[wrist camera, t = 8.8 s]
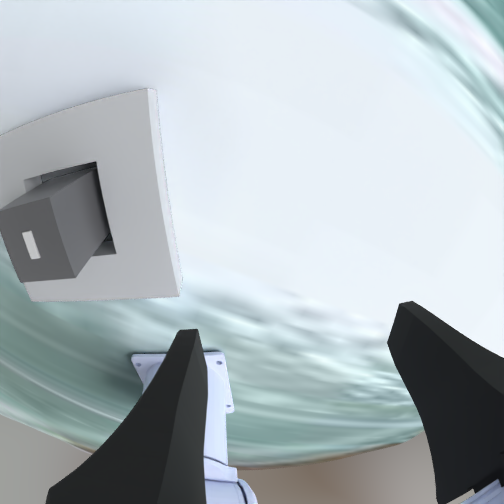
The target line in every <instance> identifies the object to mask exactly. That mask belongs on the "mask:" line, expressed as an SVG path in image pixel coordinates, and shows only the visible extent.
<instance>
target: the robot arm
mask: <svg viewBox="0 0 504 504" xmlns="http://www.w3.org/2000/svg"><path fill="white" fill-rule="evenodd" d="M387 344H388V347H389V350H390V353H391V355H392V358H393V361H394V363H395V366H396V368H397V370H398V372H399V374H400V376H401V378H402V380H403V382H404V384H405V386H406V388H407V390H408V391H409V393H410V395H411V397H412V399H413V401H414V404H415V406H416V408H417V410H418V412H419V415H420V417H421V420H422V423H423V426H424V429H425V432H426V435H427V439H428V443H429V447H430V451H431V456H432V461H433V467H434V473H435V483H436V499H437V502H438V504H447V503H448V502H450V501H452V500H454V499H456V498H458V497H459V496H461V495H463V494H465V493H466V492H468V491H470V490H471V489H474V492H475V494H474V495H473V496H471V497H469V498H468V499H466V500H465V501H463V502H461V503H460V504H504V358H503V357H500V356H499V355H497V354H495V353H493V352H491V351H489V350H487V349H485V348H484V347H482V346H480V345H479V344H477V343H475V342H474V341H472V340H471V339H469V338H467V337H466V336H464V335H463V334H461V333H460V332H458V331H457V330H455V329H454V328H452V327H451V326H449V325H448V324H447V323H445V322H444V321H442V320H441V319H439V318H438V317H436V316H435V315H434V314H432V313H431V312H429V311H428V310H426V309H425V308H423V307H422V306H420V305H418V304H417V303H415V302H413V301H410V302H405V303H400V304H399V306H398V310H397V313H396V317H395V320H394V323H393V326H392V329H391V332H390V336H389V339H388V341H387ZM131 361H132V363H133V365H134V367H135V369H136V371H137V373H138V375H139V377H140V379H141V381H142V383H143V385H144V387H143V392H142V396H141V398H140V399H139V401H138V402H137V403H136V405H135V406H134V408H133V409H132V410H131V412H130V413H129V414H128V416H127V417H126V418H125V419H124V421H123V422H122V423H121V424H120V426H119V427H118V428H117V429H116V430H115V431H114V433H113V434H112V435H111V436H110V437H109V438H108V439H107V440H106V441H105V443H104V444H103V445H102V446H101V447H100V448H99V449H98V450H97V451H96V452H94V453H93V454H92V455H91V456H90V457H89V458H88V459H87V460H86V461H85V462H84V463H83V464H81V465H80V466H79V467H78V468H77V469H76V470H74V471H73V472H72V473H70V474H69V475H68V476H66V477H65V478H64V479H62V480H61V481H59V482H58V483H57V484H55V485H54V486H52V487H51V488H50V489H49V491H48V495H47V499H46V504H258V503H257V499H256V497H255V494H254V493H253V491H252V490H251V488H250V487H249V485H248V484H247V483H246V482H245V481H244V480H242V479H238V478H237V468H233V467H228V459H227V437H226V413H232V412H234V405H233V400H232V394H231V389H230V384H229V378H228V373H227V367H226V361H225V356H224V354H223V353H222V352H203V348H202V344H201V340H200V336H199V332H198V329H188V330H179V331H178V332H177V334H176V337H175V339H174V341H173V343H172V345H171V347H170V349H169V351H168V352H167V354H133V355H132V357H131Z"/></svg>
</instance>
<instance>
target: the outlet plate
mask: <svg viewBox="0 0 504 504" xmlns="http://www.w3.org/2000/svg"><path fill="white" fill-rule="evenodd" d="M95 161H96V162H97V168H98V174H99V180H100V185H101V190H102V195H103V200H104V204H105V209H106V213H107V218H108V222H109V226H110V230H111V234H112V238H113V241H105V242H102V243H101V245H100V246H99V247H98V248H97V250H96V251H95V252H94V254H93V255H92V256H91V258H90V259H89V260H88V262H87V263H86V265H85V266H84V267H83V269H82V270H81V271H80V273H79V274H78V276H77V277H76V278H72V279H60V280H48V281H36V282H24V285H25V288H26V290H27V292H28V294H29V297H30V299H31V301H32V302H54V301H98V300H125V299H147V298H165V297H179V295H180V291H181V286H182V281H183V277H182V272H181V267H180V261H179V256H178V251H177V245H176V240H175V234H174V228H173V222H172V216H171V210H170V203H169V196H168V190H167V182H166V175H165V167H164V159H163V151H162V142H161V133H160V123H159V112H158V101H157V90H153V89H149V88H146V89H141V90H136V91H131V92H127V93H122V94H118V95H114V96H110V97H106V98H102V99H98V100H95V101H91V102H88V103H84V104H81V105H78V106H74V107H71V108H68V109H65V110H62V111H59V112H56V113H53V114H51V115H48V116H45V117H42V118H40V119H37V120H35V121H32V122H30V123H27V124H25V125H22V126H20V127H18V128H15V129H13V130H11V131H9V132H7V133H4V134H2V135H0V209H1V208H3V207H4V206H6V205H7V204H9V203H10V202H12V201H14V200H15V199H17V198H18V197H20V196H22V195H23V194H25V193H27V192H28V191H30V190H32V189H33V188H35V187H37V186H39V185H40V184H42V179H41V175H42V174H46V173H49V172H53V171H57V170H61V169H65V168H69V167H73V166H77V165H81V164H86V163H90V162H95Z"/></svg>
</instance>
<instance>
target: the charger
mask: <svg viewBox="0 0 504 504" xmlns="http://www.w3.org/2000/svg"><path fill="white" fill-rule="evenodd" d="M0 231H1V234H2V237H3V240H4V243H5V246H6V248H7V251H8V254H9V256H10V259H11V261H12V264H13V266H14V268H15V271H16V273H17V276H18V278H19V280H20V282H21V283H24V282H36V281H48V280H60V279H72V278H76V277H77V276H78V274H79V273H80V271H81V270H82V269H83V267H84V266H85V265H86V263H87V262H88V260H89V259H90V258H91V256H92V255H93V254H94V252H95V251H96V250H97V248H98V247H99V246H100V245H101V243H102V242H103V241H104V239H105V238H106V237H107V236H108V234H109V233H110V232H111V230H110V226H109V222H108V218H107V213H106V209H105V204H104V200H103V195H102V190H101V185H100V180H99V174H98V168H97V167H94V168H90V169H86V170H82V171H78V172H74V173H70V174H66V175H63V176H59V177H55V178H52V179H49V180H48V181H46V182H44V183H42V184H40V185H39V186H37V187H35V188H33V189H32V190H30V191H28V192H27V193H25V194H23V195H22V196H20V197H18V198H17V199H15V200H14V201H12V202H10V203H9V204H7V205H6V206H4V207H3V208H1V209H0Z"/></svg>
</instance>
